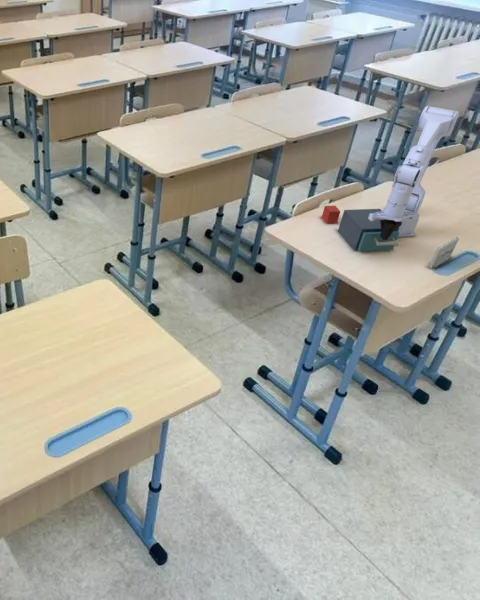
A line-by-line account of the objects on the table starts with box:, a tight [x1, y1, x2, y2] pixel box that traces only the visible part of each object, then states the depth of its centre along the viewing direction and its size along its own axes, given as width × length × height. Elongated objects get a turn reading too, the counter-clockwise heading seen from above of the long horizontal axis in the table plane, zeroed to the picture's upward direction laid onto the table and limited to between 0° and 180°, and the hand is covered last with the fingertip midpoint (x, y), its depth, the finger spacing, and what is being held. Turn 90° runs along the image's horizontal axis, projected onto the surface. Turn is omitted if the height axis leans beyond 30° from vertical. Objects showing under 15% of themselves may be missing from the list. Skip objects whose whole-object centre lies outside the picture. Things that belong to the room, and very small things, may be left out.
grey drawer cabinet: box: [337, 208, 399, 252], centre depth 193 cm, size 14×13×9 cm
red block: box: [321, 205, 341, 225], centre depth 206 cm, size 4×5×5 cm
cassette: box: [428, 236, 460, 269], centre depth 182 cm, size 12×2×8 cm, turn 124°
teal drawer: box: [358, 230, 400, 252], centre depth 190 cm, size 17×12×7 cm
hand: (383, 238), depth 184 cm, fingers closed
